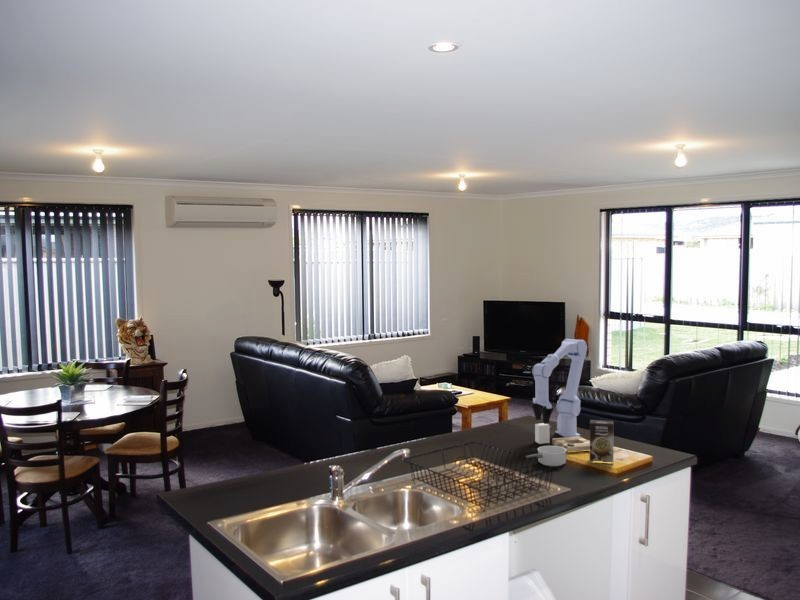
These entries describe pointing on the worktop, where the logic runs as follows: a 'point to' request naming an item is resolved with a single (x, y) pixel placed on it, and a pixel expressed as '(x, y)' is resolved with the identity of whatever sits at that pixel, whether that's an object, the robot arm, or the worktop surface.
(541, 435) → the plug
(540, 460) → the saucepan
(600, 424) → the coffee box
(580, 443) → the socket
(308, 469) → the worktop surface
